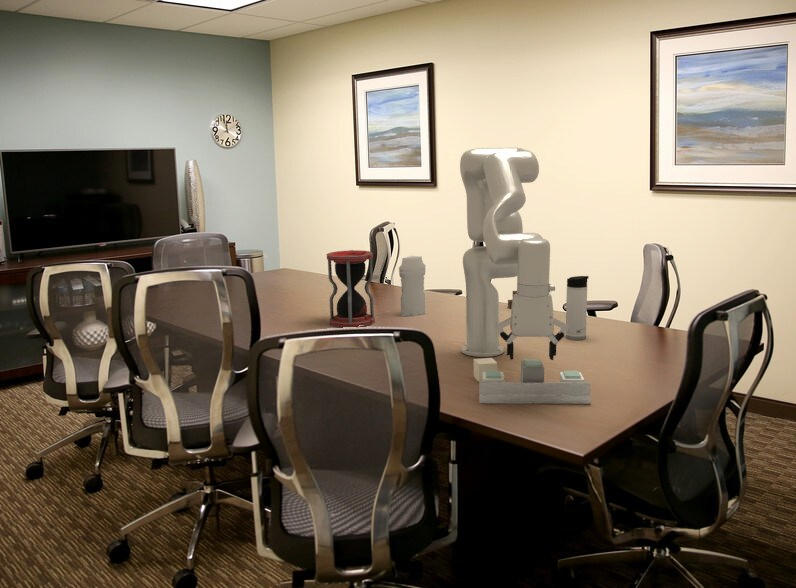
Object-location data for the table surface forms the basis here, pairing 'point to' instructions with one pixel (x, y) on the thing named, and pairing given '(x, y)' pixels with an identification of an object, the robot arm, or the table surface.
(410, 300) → the tall pale column
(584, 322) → the travel mug
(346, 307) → the hourglass
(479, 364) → the cream cube
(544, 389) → the rail
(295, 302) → the table surface
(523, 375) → the block
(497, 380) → the mounted modules
